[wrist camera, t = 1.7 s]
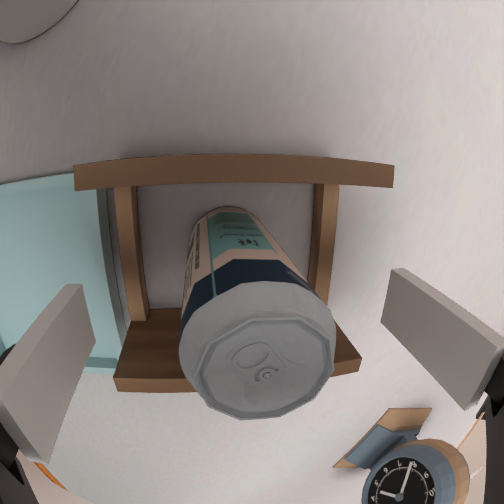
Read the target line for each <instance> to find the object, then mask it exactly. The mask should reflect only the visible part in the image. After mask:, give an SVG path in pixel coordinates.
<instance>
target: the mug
mask: <svg viewBox="0 0 504 504" xmlns="http://www.w3.org/2000/svg"><path fill="white" fill-rule="evenodd" d="M77 1H78V0H0V41H3V42H6V43H20V42H25V41H27V40H30V39H32V38H34V37H36V36H38V35H40V34H42V33H43V32H45V31H46V30H48V29H49V28H51V27H52V26H53V25H54V24H56V23H57V22H58V21H59V20H60V19H61V18H63V17H64V16H65V15H66V14H67V13H68V12H69V10H70V9H71V8H72V7H73V6H74V5H75V3H76V2H77Z"/></svg>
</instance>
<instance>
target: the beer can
mask: <svg viewBox="0 0 504 504" xmlns="http://www.w3.org/2000/svg"><path fill="white" fill-rule="evenodd" d="M335 346H336V326H335V322H334V320H333V317H332V314H331V312H330V310H329V309H328V308H327V306H326V305H325V304H324V302H323V301H322V300H321V299H320V297H319V296H318V295H317V293H316V292H315V291H314V289H313V288H312V287H311V286H310V284H309V283H308V282H307V281H306V279H305V278H304V277H303V275H302V274H301V273H300V272H299V270H298V269H297V268H296V267H295V265H294V264H293V263H292V261H291V260H290V259H289V258H288V256H287V255H286V254H285V253H284V251H283V250H282V249H281V248H280V246H279V245H278V244H277V243H276V241H275V240H274V239H273V238H272V236H271V235H270V234H269V233H268V231H267V230H266V229H265V228H264V226H263V225H262V224H261V223H260V221H259V220H258V219H257V218H256V217H255V216H254V215H253V214H251V213H249V212H248V211H246V210H244V209H241V208H236V207H223V208H218V209H215V210H213V211H211V212H209V213H207V214H206V215H204V216H203V217H202V218H201V219H200V220H199V221H198V222H197V223H196V225H195V226H194V228H193V230H192V233H191V236H190V240H189V248H188V256H187V265H186V274H185V284H184V294H183V304H182V315H181V328H180V341H179V359H180V364H181V368H182V370H183V372H184V375H185V377H186V378H187V380H188V381H189V382H190V383H191V385H192V386H193V387H194V388H195V390H196V391H197V392H198V393H199V394H200V396H201V397H202V398H203V399H204V400H205V402H206V404H207V406H208V407H210V408H212V409H215V410H217V411H219V412H222V413H224V414H226V415H229V416H231V417H234V418H236V419H239V420H253V419H266V418H277V417H281V416H283V415H285V414H287V413H289V412H291V411H293V410H295V409H297V408H298V407H300V406H302V405H304V404H306V403H308V402H310V401H311V400H313V399H314V398H315V397H316V396H317V394H318V393H319V391H320V390H321V389H322V387H323V386H324V384H325V383H326V382H327V380H328V379H329V377H330V376H331V374H332V373H333V371H334V354H335Z"/></svg>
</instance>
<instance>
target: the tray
mask: <svg viewBox="0 0 504 504" xmlns="http://www.w3.org/2000/svg"><path fill="white" fill-rule="evenodd" d="M66 284H82V286H83V291H84V295H85V300H86V304H87V309H88V313H89V317H90V321H91V325H92V328H93V332H94V336H95V339H96V343H95V345H94V347H93V349H92V352H91V354H90V356H89V358H88V361H87V363H86V365H85V367H84V370H83V373H97V374H114V372H115V369H116V366H117V363H118V359H119V356H120V353H121V350H122V347H123V344H124V341H125V337H126V334H127V332H126V328H125V323H124V318H123V314H122V309H121V303H120V298H119V293H118V287H117V281H116V275H115V269H114V262H113V255H112V247H111V239H110V230H109V220H108V209H107V196H106V189H95V190H85V191H75V190H74V174H73V172H72V173H65V174H58V175H51V176H45V177H38V178H32V179H27V180H21V181H16V182H10V183H5V184H0V356H1V355H2V353H3V352H4V351H5V350H7V349H8V348H9V347H11V346H12V345H13V344H17V342H18V341H19V340H20V338H21V337H22V336H23V335H24V333H25V332H26V331H27V330H28V328H29V327H30V326H31V325H32V323H33V322H34V321H35V320H36V318H37V317H38V316H39V315H40V314H41V312H42V311H43V310H44V309H45V308H46V306H47V305H48V304H49V303H50V302H51V301H52V299H53V298H54V297H55V296H56V295H57V294H58V293H59V291H60V290H61V289H62V288H63V287H64V286H65V285H66Z"/></svg>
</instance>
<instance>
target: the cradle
mask: <svg viewBox="0 0 504 504" xmlns="http://www.w3.org/2000/svg"><path fill="white" fill-rule="evenodd" d="M73 174H74V190H75V191H85V190H95V189H106V188H114V196H115V209H116V221H117V231H118V240H119V249H120V257H121V264H122V271H123V278H124V284H125V290H126V296H127V302H128V307H129V313H130V318H131V323H130V326H129V329H128V331H127V334H126V337H125V341H124V344H123V347H122V350H121V353H120V356H119V359H118V363H117V366H116V369H115V372H114V376H113V379H114V382H115V385H116V388H117V391H119V392H147V393H179V392H197V391H196V390H195V388H194V387H193V386H192V385H191V383H190V382H189V381H188V380H187V378H186V377H185V375H184V372H183V370H182V368H181V364H180V359H179V341H180V328H181V315H182V308H179V309H149V306H148V300H147V293H146V286H145V278H144V270H143V261H142V252H141V242H140V231H139V219H138V204H137V186H146V185H164V184H186V183H223V182H280V183H315V193H314V210H313V225H312V238H311V251H310V263H309V274H308V283H309V284H310V286H311V287H312V288H313V289H314V291H315V292H316V293H317V295H318V296H319V297H320V299H321V300H322V301H323V302H324V304H325V305H326V306H327V301H328V294H329V286H330V279H331V270H332V262H333V253H334V244H335V233H336V223H337V211H338V197H339V184H340V185H357V186H372V187H386V188H393V180H394V165H388V164H381V163H373V162H365V161H357V160H348V159H339V158H328V157H314V156H297V155H274V154H192V155H168V156H152V157H138V158H126V159H116V160H108V161H101V162H94V163H87V164H80V165H74V166H73ZM333 320H334V319H333ZM334 322H335V321H334ZM335 326H336V346H335V354H334V371H333V373H332V374H331V376H330V377H333V376H339V375H344V374H348V373H353V372H358V370H359V367H360V364H361V360H362V357H361V356H360V354H359V353H358V352H357V350H356V349H355V348H354V346H353V345H352V344H351V342H350V341H349V340H348V338H347V337H346V335H345V334H344V333H343V331H342V330H341V329H340V327H339V326H338V325H337V323H336V322H335Z"/></svg>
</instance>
